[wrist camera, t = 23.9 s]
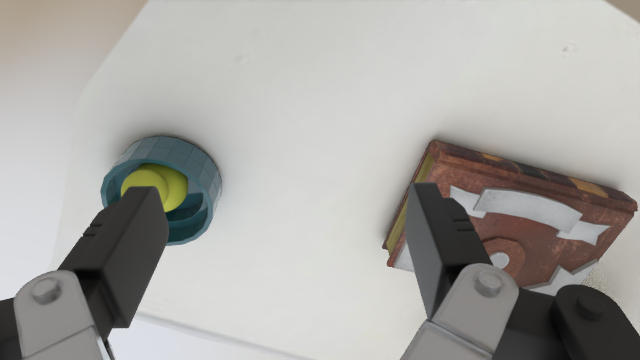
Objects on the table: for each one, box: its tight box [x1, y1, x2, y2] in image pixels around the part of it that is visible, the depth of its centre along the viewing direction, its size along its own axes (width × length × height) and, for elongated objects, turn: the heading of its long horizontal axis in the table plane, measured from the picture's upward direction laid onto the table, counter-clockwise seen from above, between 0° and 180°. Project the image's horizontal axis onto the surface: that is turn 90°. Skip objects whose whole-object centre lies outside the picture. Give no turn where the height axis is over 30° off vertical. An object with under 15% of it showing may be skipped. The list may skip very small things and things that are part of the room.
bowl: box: [101, 136, 221, 246], centre depth 41 cm, size 11×11×5 cm
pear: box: [121, 163, 188, 212], centre depth 38 cm, size 5×5×9 cm
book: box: [382, 140, 637, 296], centre depth 45 cm, size 23×16×5 cm
